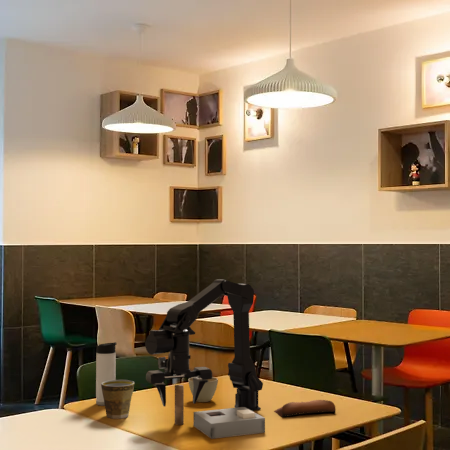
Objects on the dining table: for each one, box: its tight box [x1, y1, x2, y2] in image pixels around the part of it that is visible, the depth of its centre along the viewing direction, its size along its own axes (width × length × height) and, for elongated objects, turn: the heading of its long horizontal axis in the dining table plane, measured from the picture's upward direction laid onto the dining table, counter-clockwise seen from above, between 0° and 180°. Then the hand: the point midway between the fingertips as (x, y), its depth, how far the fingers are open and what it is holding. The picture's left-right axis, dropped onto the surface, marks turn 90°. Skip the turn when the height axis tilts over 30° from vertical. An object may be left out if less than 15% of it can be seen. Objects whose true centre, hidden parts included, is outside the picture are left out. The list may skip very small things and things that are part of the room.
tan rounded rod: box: [174, 384, 185, 426], centre depth 197 cm, size 3×3×11 cm
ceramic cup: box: [101, 379, 135, 420], centre depth 206 cm, size 13×10×10 cm
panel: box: [192, 407, 266, 440], centre depth 191 cm, size 16×14×4 cm
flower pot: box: [187, 376, 219, 403], centre depth 226 cm, size 10×10×7 cm
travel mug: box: [95, 341, 117, 407], centre depth 222 cm, size 6×7×20 cm
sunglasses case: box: [273, 399, 337, 418], centre depth 209 cm, size 18×7×7 cm, turn 108°
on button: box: [237, 409, 256, 419], centre depth 189 cm, size 4×5×2 cm
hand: (179, 404), depth 197 cm, fingers open, 9 cm apart
